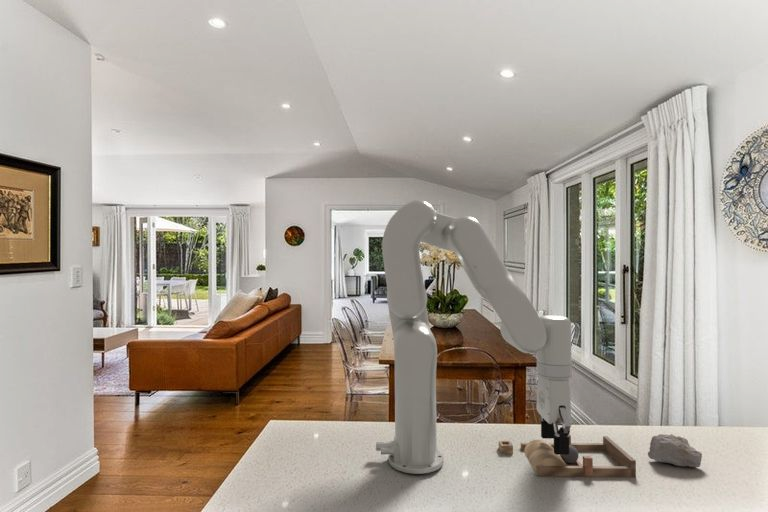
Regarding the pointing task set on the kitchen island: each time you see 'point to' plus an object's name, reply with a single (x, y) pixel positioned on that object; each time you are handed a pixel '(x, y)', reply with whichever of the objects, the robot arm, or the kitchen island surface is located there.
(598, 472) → the wooden roller rack
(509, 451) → the tee
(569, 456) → the ball
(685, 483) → the kitchen island surface
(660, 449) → the stone
